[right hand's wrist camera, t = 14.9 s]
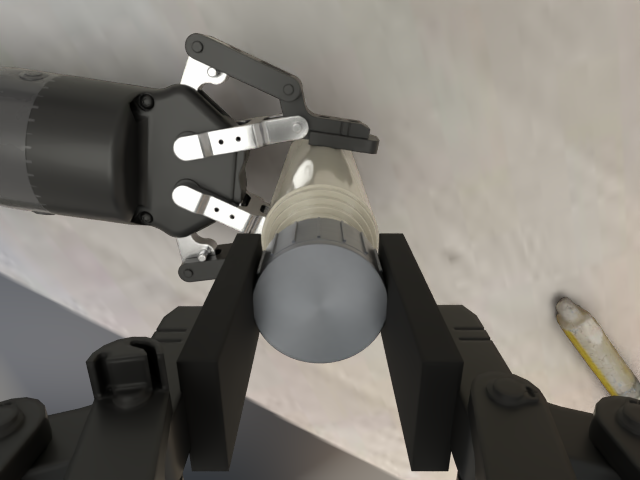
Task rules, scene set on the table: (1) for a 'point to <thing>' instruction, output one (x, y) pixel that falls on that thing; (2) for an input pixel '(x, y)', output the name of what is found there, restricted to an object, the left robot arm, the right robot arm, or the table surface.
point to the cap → (320, 291)
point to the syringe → (597, 349)
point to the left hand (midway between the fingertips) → (366, 189)
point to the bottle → (319, 192)
